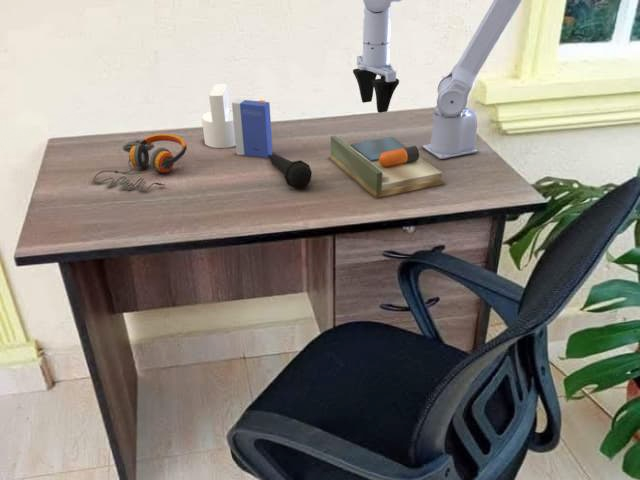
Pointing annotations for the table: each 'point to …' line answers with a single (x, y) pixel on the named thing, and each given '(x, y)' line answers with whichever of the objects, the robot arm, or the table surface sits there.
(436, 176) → the bed
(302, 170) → the microphone
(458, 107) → the robot arm
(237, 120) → the walkman
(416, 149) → the orange capsule container
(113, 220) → the table surface
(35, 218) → the table surface
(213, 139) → the base with upright slab
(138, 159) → the headphones
